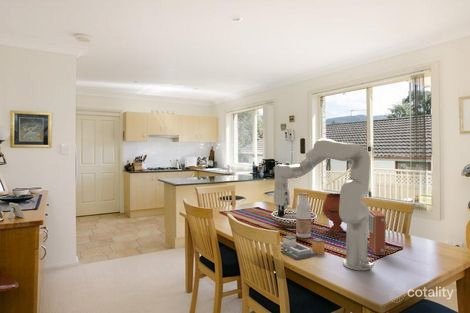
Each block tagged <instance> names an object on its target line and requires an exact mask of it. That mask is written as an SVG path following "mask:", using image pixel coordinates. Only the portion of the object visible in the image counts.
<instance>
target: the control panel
mask: <svg viewBox="0 0 470 313" xmlns="http://www.w3.org/2000/svg"><path fill="white" fill-rule="evenodd" d="M386 230H387V220H386V215H385V214H384V213H383V212H381V211H380V210H376V209H375V210H371V209H369V220H368V233H369V234H368V235H369V237H368V239H369V240H368V247H369V249H370V250H371V252H372V253H373V255H379V256H381V255H382V256H385V255H386Z"/></svg>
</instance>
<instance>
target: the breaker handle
mask: <svg viewBox="0 0 470 313" xmlns="http://www.w3.org/2000/svg"><path fill="white" fill-rule="evenodd" d="M283 242H284V244H286V245H288V246H290V247H296V243H297V236H294V235H291V234H290V235H284V236H283Z"/></svg>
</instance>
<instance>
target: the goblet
mask: <svg viewBox="0 0 470 313" xmlns="http://www.w3.org/2000/svg"><path fill="white" fill-rule="evenodd" d="M339 203H340V192H339V193H337V192H336V193H327V194H326V197H325V199H324V201H323V204H322V213H323V214H324V216H325V217H326V218H327V219H328V220H329V221H331V222H332V226H331V227H330V228H329V230H330V231H331V232H335V233H342V232H343V231H344V228H343V227H342V223H344V222H343V221H342V220H341V218H340V215H339Z"/></svg>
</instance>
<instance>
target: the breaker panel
mask: <svg viewBox="0 0 470 313" xmlns="http://www.w3.org/2000/svg"><path fill="white" fill-rule="evenodd" d="M280 244H281V250H282V252H281V253H283V254H285V255H287V256H289V257H290V258H293V259H295V260H301V259H306V258H310V257H314V256H317V254H316V252H313V251H312V248H310V247H308V246H305V245H303V244H300V243H299V242H296V247H290V246H288V245H286V244H284V241H283V242H281V241H280Z"/></svg>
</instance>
